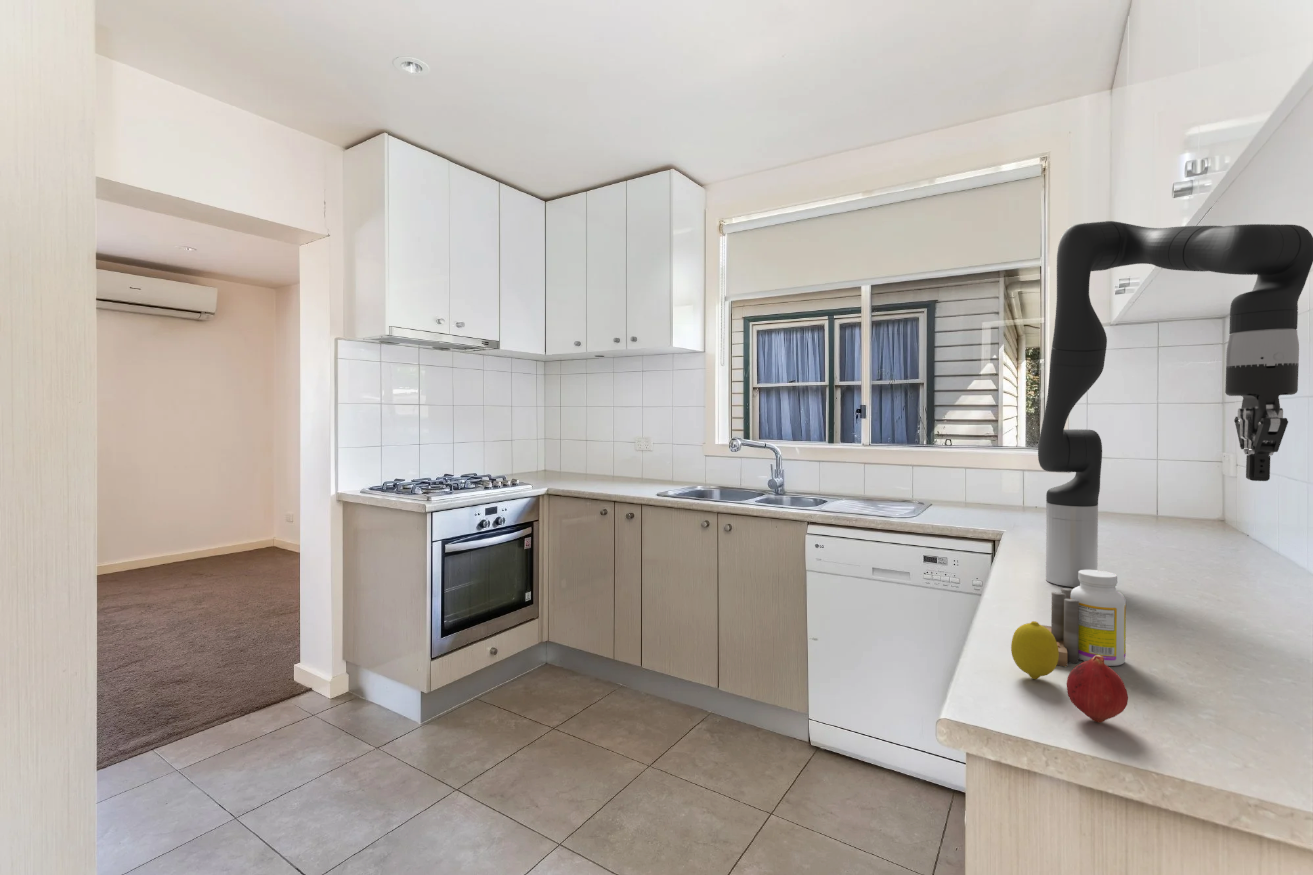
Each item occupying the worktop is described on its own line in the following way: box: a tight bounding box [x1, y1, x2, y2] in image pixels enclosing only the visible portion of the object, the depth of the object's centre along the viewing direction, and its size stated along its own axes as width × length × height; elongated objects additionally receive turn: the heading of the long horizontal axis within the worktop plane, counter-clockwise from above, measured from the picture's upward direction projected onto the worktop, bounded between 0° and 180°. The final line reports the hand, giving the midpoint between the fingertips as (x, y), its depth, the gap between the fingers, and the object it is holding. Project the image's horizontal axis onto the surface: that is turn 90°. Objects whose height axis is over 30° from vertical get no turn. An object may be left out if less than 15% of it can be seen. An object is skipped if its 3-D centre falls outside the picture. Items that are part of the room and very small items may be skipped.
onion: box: [1065, 655, 1129, 724], centre depth 71 cm, size 6×6×8 cm
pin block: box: [1041, 587, 1079, 667], centre depth 92 cm, size 12×6×9 cm, turn 149°
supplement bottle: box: [1070, 569, 1127, 667], centre depth 89 cm, size 7×7×13 cm
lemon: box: [1010, 620, 1059, 680], centre depth 82 cm, size 6×6×8 cm
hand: (1257, 480), depth 89 cm, fingers closed
